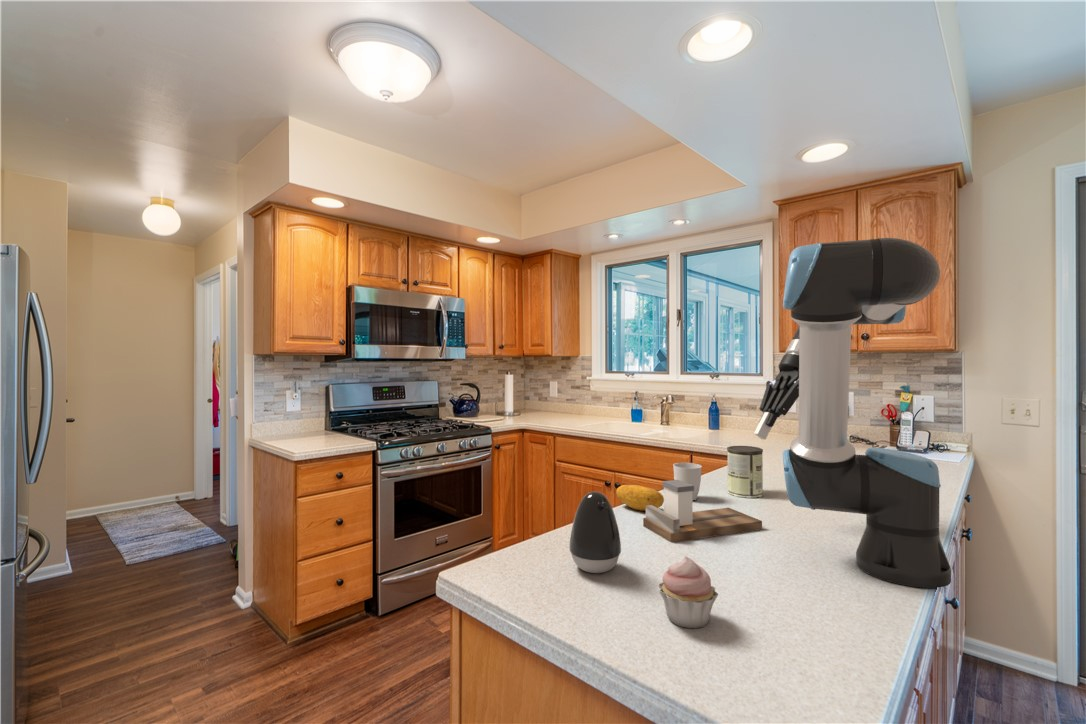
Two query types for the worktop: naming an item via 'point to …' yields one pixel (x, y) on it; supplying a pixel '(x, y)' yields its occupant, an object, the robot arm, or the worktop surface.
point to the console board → (699, 523)
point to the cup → (689, 475)
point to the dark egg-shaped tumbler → (595, 535)
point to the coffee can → (745, 471)
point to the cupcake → (687, 594)
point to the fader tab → (678, 500)
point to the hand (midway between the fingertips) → (759, 436)
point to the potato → (639, 496)
